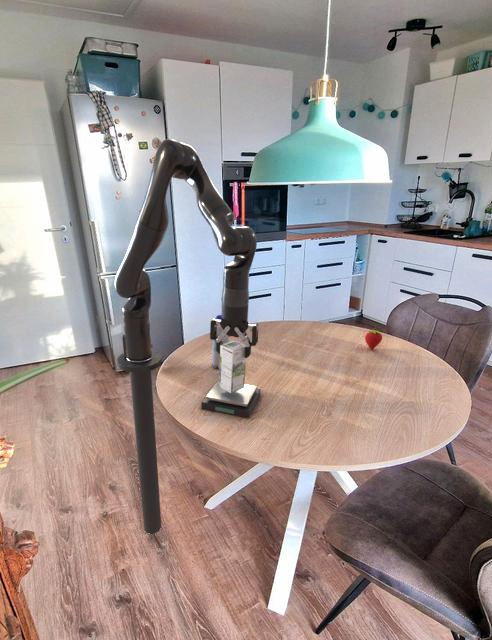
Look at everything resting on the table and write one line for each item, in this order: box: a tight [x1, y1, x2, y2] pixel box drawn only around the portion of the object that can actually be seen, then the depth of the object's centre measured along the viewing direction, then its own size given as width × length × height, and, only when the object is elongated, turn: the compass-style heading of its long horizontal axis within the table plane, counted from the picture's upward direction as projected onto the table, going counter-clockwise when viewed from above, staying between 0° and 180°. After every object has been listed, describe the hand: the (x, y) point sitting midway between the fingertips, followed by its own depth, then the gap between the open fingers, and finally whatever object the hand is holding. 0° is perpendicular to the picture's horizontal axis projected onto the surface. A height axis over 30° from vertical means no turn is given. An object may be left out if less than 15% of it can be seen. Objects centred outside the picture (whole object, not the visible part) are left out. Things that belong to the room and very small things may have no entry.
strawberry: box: [364, 326, 383, 350], centre depth 163 cm, size 6×8×10 cm
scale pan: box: [205, 379, 258, 407], centre depth 120 cm, size 13×12×1 cm
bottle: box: [211, 314, 230, 369], centre depth 141 cm, size 7×7×20 cm
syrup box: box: [218, 340, 247, 393], centre depth 117 cm, size 6×6×14 cm
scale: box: [200, 381, 262, 419], centre depth 121 cm, size 15×14×2 cm
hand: (233, 355), depth 115 cm, fingers closed on syrup box, 7 cm apart
